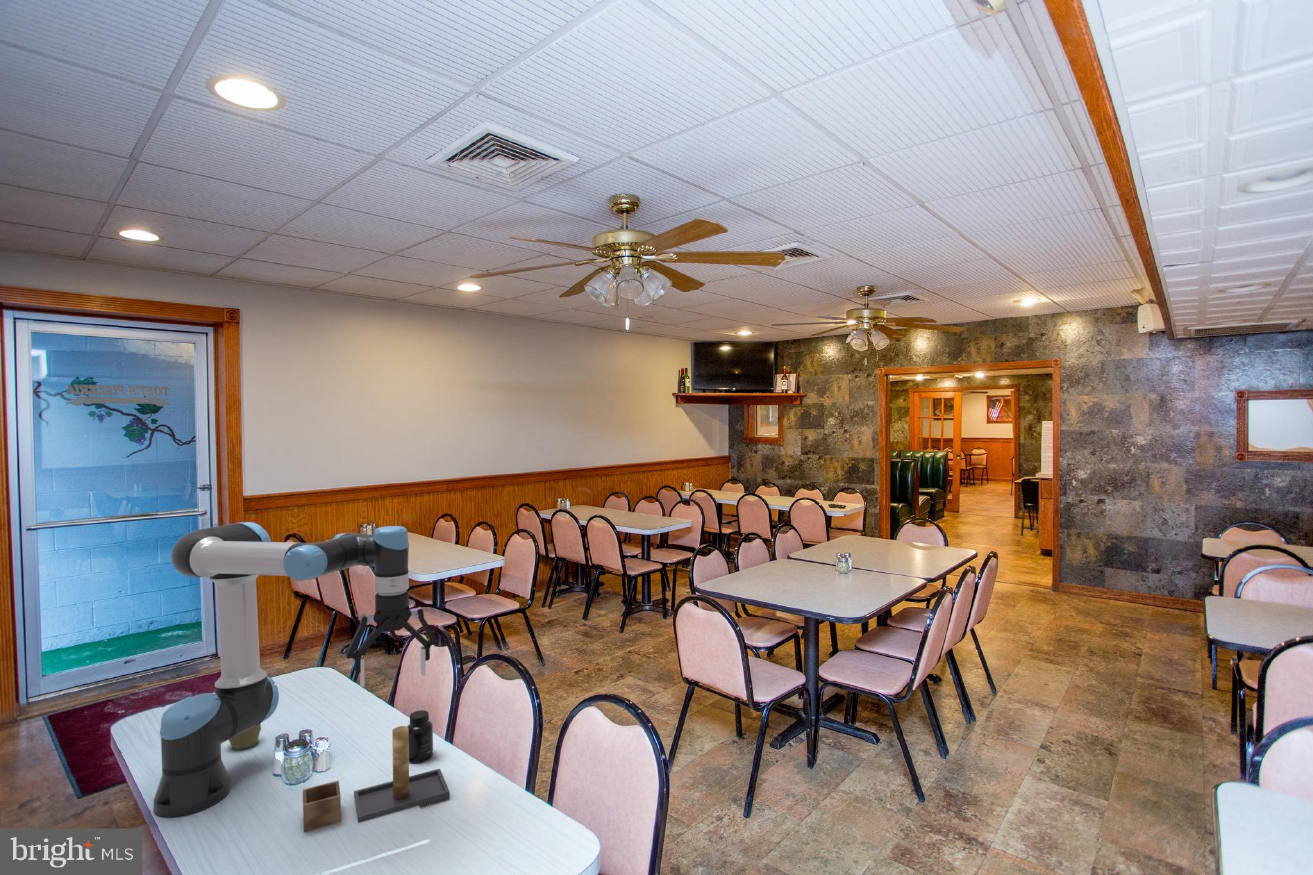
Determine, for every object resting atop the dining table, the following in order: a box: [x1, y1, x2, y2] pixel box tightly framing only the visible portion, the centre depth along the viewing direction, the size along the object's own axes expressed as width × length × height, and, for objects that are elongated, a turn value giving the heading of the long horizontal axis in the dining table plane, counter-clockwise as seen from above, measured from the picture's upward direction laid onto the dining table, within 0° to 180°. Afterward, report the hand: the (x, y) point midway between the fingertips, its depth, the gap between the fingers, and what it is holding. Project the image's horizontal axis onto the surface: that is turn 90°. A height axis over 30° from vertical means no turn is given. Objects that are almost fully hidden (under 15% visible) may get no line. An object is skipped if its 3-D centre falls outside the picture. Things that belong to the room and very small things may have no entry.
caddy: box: [302, 780, 342, 833], centre depth 146 cm, size 7×7×6 cm
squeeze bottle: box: [228, 723, 262, 750], centre depth 182 cm, size 8×8×18 cm
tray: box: [353, 768, 451, 823], centre depth 154 cm, size 20×12×2 cm, turn 119°
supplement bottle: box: [407, 709, 434, 764], centre depth 173 cm, size 7×7×12 cm
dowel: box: [391, 725, 410, 800], centre depth 154 cm, size 4×4×16 cm
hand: (393, 679), depth 154 cm, fingers open, 13 cm apart
